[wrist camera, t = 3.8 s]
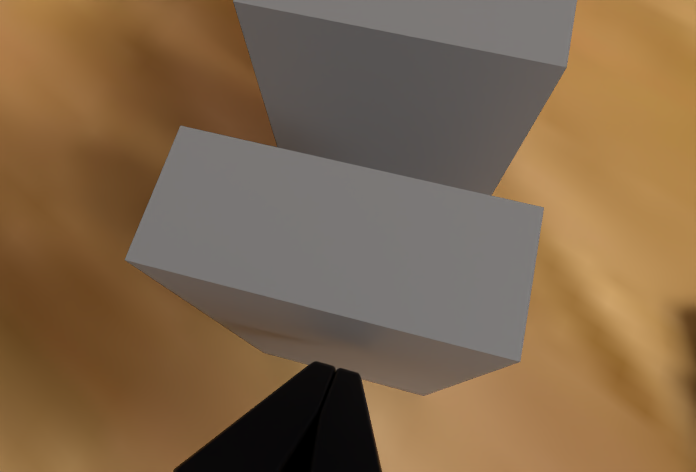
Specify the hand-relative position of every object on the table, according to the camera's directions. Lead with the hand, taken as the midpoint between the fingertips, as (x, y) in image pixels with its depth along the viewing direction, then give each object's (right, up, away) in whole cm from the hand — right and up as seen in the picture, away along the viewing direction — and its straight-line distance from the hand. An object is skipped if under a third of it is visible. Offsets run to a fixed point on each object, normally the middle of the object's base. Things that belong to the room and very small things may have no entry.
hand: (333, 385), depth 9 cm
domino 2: (0, -1, +7) cm, 7 cm away
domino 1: (+1, +3, +8) cm, 9 cm away
